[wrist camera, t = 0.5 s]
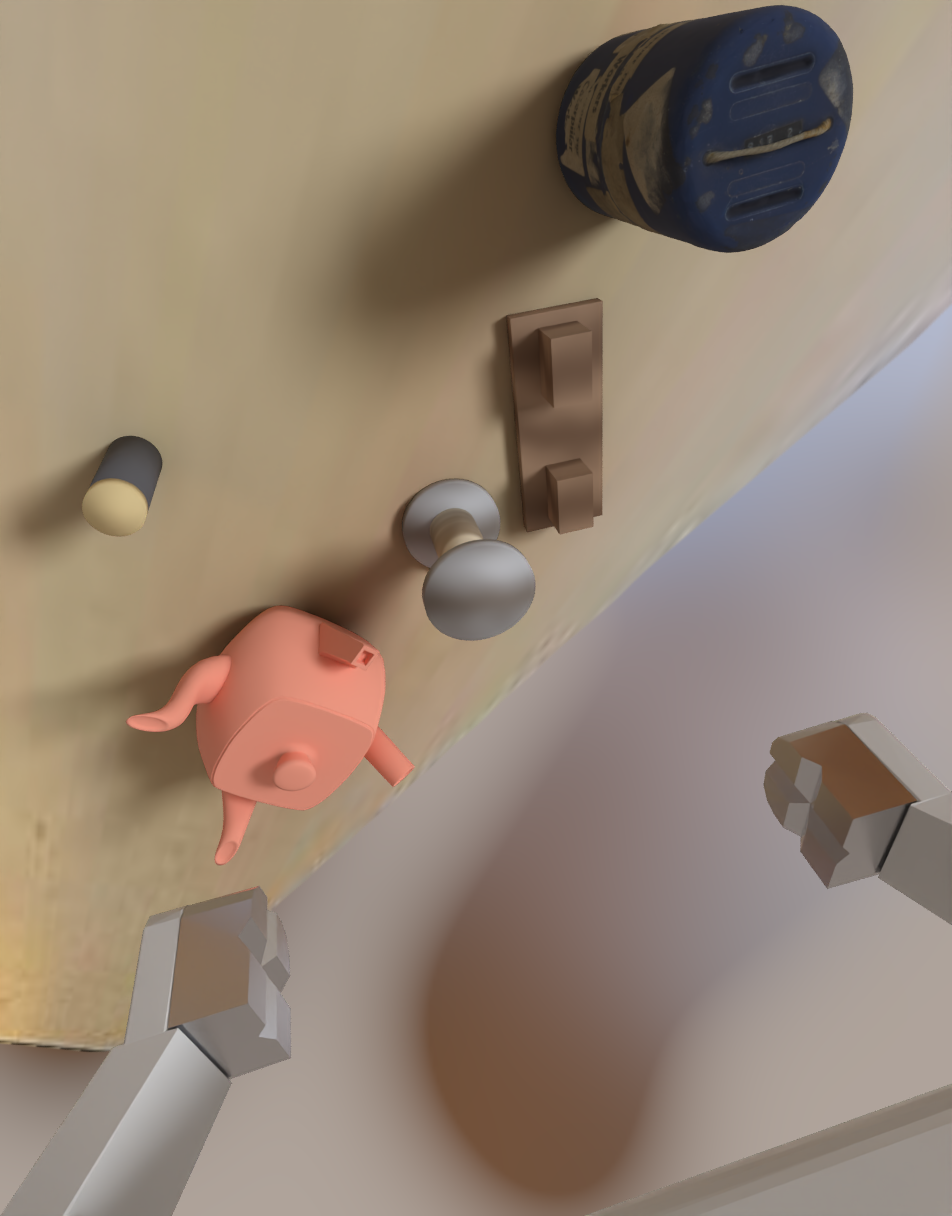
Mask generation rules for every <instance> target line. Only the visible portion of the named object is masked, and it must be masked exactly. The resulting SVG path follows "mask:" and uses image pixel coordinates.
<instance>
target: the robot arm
mask: <svg viewBox="0 0 952 1216" xmlns="http://www.w3.org/2000/svg"><path fill="white" fill-rule="evenodd" d="M770 754H771V755H772V757H773V758H774V759H775V761H774V763H773V764H772V765H771V766H770V767H769V768H768V769H767V770H766V773H765V779H764V789H765V793H766V797H767V801H768V803H769V805H770V807H771V809H772V811H773V813H774V815H775V816H776V818H777V819H778V821H779V822H780V824H781V825H782V826H783V827H784V828H785V829H787V830H789V831H791V832H793V833H795V834H797V835H799V836H800V837H801V843H800V844H801V845H800V847H801V848H800V852H801V853H802V854H803V856H804V857H805V859H806V860H807V861H808V863H809V864H810V866H811V867H812V868H813V870H814V871H815V872H816V874H817V875H818V877H819V878H820V879H821V881H822V882H823V883H824V885H825V886H826V888H827V889H829V888H832V887H836V886H839V885H843V884H846V883H850V882H853V881H857V880H860V879H864V878H867V877H871V876H874V875H878V874H879V876H878V878H880V879H881V880H882V881H884V882H886V883H887V884H889V885H890V886H892V887H893V888H895V889H896V890H898V891H900V892H901V893H903V894H904V895H906V896H907V897H909V898H911V899H912V900H914V901H915V902H917V903H918V904H920V905H922V906H923V907H925V908H926V909H928V910H929V911H931V912H932V913H934V914H936V915H937V916H939V917H940V918H942V919H943V920H945V921H946V922H948V923H949V924H951V925H952V791H950V790H949V789H948V788H947V787H946V786H945V785H944V784H943V783H942V782H941V781H940V780H939V779H938V778H937V777H936V776H935V775H934V774H933V773H932V772H931V771H930V770H929V769H928V768H927V767H925V765H924V764H923V763H922V762H921V761H920V760H919V759H918V758H917V757H916V756H914V755H913V754H912V753H911V752H910V751H909V750H908V749H907V748H906V747H905V746H904V745H903V744H902V743H901V742H900V741H899V740H898V739H897V738H896V737H895V736H894V735H893V734H892V733H891V732H890V731H889V730H888V729H887V728H886V727H885V726H884V725H883V724H882V723H881V722H880V721H879V720H878V719H877V718H876V717H874V716H872V715H870V714H868V713H860V714H856V715H853V716H849V717H846V718H843V719H840V720H836V721H830V722H827V723H823V724H820V725H817V726H814V727H810V728H807V729H804V730H801V731H797V732H794V733H791V734H787V735H784V736H781V737H778V738H777V739H776V740H774V741H773V743H772V746H771V750H770ZM289 977H290V960H289V950H288V944H287V937H286V933H285V930H284V927H283V924H282V921H281V920H280V918H279V916H278V915H277V913H275V912H272V911H268V910H267V896H266V895H265V894H264V892H263V891H262V889H261V888H260V886H257V887H254V888H250V889H247V890H243V891H239V892H236V893H232V894H229V895H225V896H221V897H218V898H214V899H211V900H207V901H203V902H200V903H196V904H192V905H187V906H183V907H180V908H176V909H173V910H170V911H166V912H163V913H159V914H156V915H152V916H150V917H149V919H148V921H147V923H146V925H145V928H144V930H143V934H142V940H141V945H140V951H139V957H138V963H137V969H136V975H135V981H134V987H133V993H132V999H131V1005H130V1011H129V1017H128V1022H127V1028H126V1034H125V1040H124V1044H121V1045H118V1046H115V1047H113V1048H112V1049H111V1051H110V1052H109V1054H108V1055H107V1057H106V1058H105V1060H104V1061H103V1063H102V1064H101V1066H100V1067H99V1069H98V1070H97V1072H96V1073H95V1075H94V1076H93V1078H92V1079H91V1081H90V1082H89V1084H88V1085H87V1087H86V1088H85V1090H84V1091H83V1093H82V1094H81V1096H80V1097H79V1099H78V1100H77V1102H76V1103H75V1105H74V1106H73V1108H72V1109H71V1111H70V1112H69V1114H68V1115H67V1117H66V1118H65V1120H64V1121H63V1123H62V1124H61V1126H60V1127H59V1129H58V1130H57V1132H56V1133H55V1135H54V1136H53V1138H52V1139H51V1141H50V1142H49V1144H48V1145H47V1147H46V1148H45V1150H44V1151H43V1153H42V1154H41V1156H40V1157H39V1159H38V1160H37V1162H36V1163H35V1165H34V1166H33V1168H32V1169H31V1171H30V1172H29V1174H28V1175H27V1177H26V1178H25V1180H24V1181H23V1183H22V1184H21V1186H20V1187H19V1189H18V1190H17V1192H16V1193H15V1195H14V1196H13V1198H12V1199H11V1201H10V1202H9V1204H8V1205H7V1207H6V1208H5V1210H4V1211H3V1213H2V1214H1V1216H172V1214H173V1212H174V1210H175V1208H176V1205H177V1203H178V1201H179V1199H180V1197H181V1194H182V1192H183V1190H184V1188H185V1185H186V1183H187V1181H188V1179H189V1177H190V1174H191V1172H192V1170H193V1168H194V1165H195V1163H196V1161H197V1159H198V1156H199V1154H200V1152H201V1150H202V1148H203V1145H204V1143H205V1141H206V1139H207V1137H208V1134H209V1132H210V1130H211V1128H212V1126H213V1123H214V1121H215V1119H216V1117H217V1114H218V1112H219V1110H220V1108H221V1106H222V1103H223V1101H224V1099H225V1097H226V1094H227V1092H228V1090H229V1088H230V1086H231V1081H230V1080H229V1079H232V1078H235V1077H237V1076H241V1075H243V1074H246V1073H249V1072H252V1071H255V1070H258V1069H260V1068H264V1067H266V1066H269V1065H272V1064H275V1063H278V1062H281V1061H284V1060H287V1059H290V1058H291V1016H290V1014H291V1012H290V1007H289V1005H288V1004H287V1002H286V1001H285V999H284V998H283V996H282V995H281V991H282V990H283V988H284V986H285V984H286V982H287V981H288V979H289ZM585 1216H952V1084H950V1085H947V1086H944V1087H941V1088H938V1089H936V1090H933V1091H930V1092H927V1093H925V1094H922V1095H919V1096H916V1097H913V1098H911V1099H908V1100H905V1101H902V1102H900V1103H897V1104H894V1105H891V1106H888V1107H886V1108H883V1109H880V1110H878V1111H875V1112H872V1113H869V1114H866V1115H863V1116H861V1117H858V1118H855V1119H852V1120H849V1121H847V1122H844V1123H841V1124H838V1125H836V1126H833V1127H830V1128H827V1129H825V1130H822V1131H819V1132H816V1133H813V1134H811V1135H808V1136H805V1137H802V1138H800V1139H797V1140H794V1141H791V1142H789V1143H786V1144H783V1145H780V1146H777V1147H774V1148H772V1149H769V1150H766V1151H763V1152H761V1153H758V1154H755V1155H752V1156H750V1157H747V1158H744V1159H741V1160H738V1161H736V1162H733V1163H730V1164H727V1165H724V1166H722V1167H719V1168H716V1169H713V1170H711V1171H708V1172H705V1173H702V1174H699V1175H697V1176H694V1177H691V1178H688V1179H686V1180H683V1181H680V1182H677V1183H675V1184H672V1185H669V1186H666V1187H663V1188H660V1189H658V1190H655V1191H652V1192H650V1193H647V1194H644V1195H641V1196H638V1197H635V1198H633V1199H630V1200H627V1201H624V1202H622V1203H619V1204H616V1205H613V1206H610V1207H608V1208H605V1209H602V1210H599V1211H596V1212H594V1213H591V1214H588V1215H585Z"/></svg>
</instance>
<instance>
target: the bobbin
mask: <svg viewBox="0 0 952 1216" xmlns="http://www.w3.org/2000/svg"><path fill="white" fill-rule="evenodd" d="M499 530H500V515H499V511H498V508H497V506H496V504H495V502H494V501H493V499H492V497H491V496H490V494H489V493H488V492H487V491H486V490H485V489H484V488H482V487H481V486H480V485H478V484H476V483H474V482H471V481H469V480H464V479H445V480H441V481H437V482H435V483H432V484H430V485H428V486H427V487H425V488H424V489H422V490H421V491H419V492H418V493H417V494H416V495H415V496H414V497H413V499H412V500H411V501H410V503H409V504H408V506H407V508H406V510H405V513H404V516H403V521H402V531H403V536H404V540H405V543H406V546H407V548H408V550H409V552H410V553H411V555H412V556H413V557H414V558H415V559H416V560H417V561H418V562H420V563H421V564H423V565H425V566H427V567H429V568H430V569H429V571H428V573H427V575H426V577H425V580H424V583H423V589H422V598H423V603H424V606H425V610H426V613H427V616H428V618H429V620H430V621H431V623H432V624H433V625H434V626H435V627H436V628H437V629H438V630H439V631H440V632H442V633H443V634H445V635H447V636H450V637H452V638H456V639H460V640H482V639H487V638H490V637H494V636H496V635H498V634H501V633H503V632H504V631H506V630H508V629H509V628H511V627H512V626H514V625H515V624H516V623H517V622H518V621H519V620H520V619H521V618H522V617H523V616H524V615H525V613H526V612H527V610H528V609H529V607H530V605H531V603H532V601H533V598H534V594H535V577H534V574H533V571H532V569H531V567H530V565H529V563H528V562H527V560H526V558H525V557H524V556H523V554H522V553H521V552H520V551H519V550H518V549H516V548H515V547H513V546H512V545H510V544H508V543H505V542H502V541H498V540H497V537H498V534H499Z"/></svg>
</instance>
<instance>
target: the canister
mask: <svg viewBox="0 0 952 1216" xmlns="http://www.w3.org/2000/svg"><path fill="white" fill-rule="evenodd" d="M852 103H853V83H852V76H851V71H850V65H849V62H848V58H847V55H846V52H845V50H844V48H843V45H842V43H841V41H840V39H839V37H838V36H837V34H836V33H835V32H834V31H833V30H832V29H831V28H830V26H829V25H828V24H827V23H825V22H824V21H823V20H822V19H821V18H819V17H818V16H816V15H815V14H813V13H811V12H809V11H807V10H804V9H801V8H797V7H792V6H785V5H775V6H766V7H760V8H755V9H750V10H744V11H739V12H733V13H728V14H723V15H718V16H713V17H708V18H701V19H695V20H688V21H682V22H676V23H672V24H660V25H657V26H655V27H652V28H649V29H644V30H639V31H635V32H631V33H627V34H623V35H620V36H618V37H615V38H613V39H611V40H609V41H608V42H606V43H604V44H603V45H601V46H600V47H598V48H597V49H596V50H595V51H594V52H592V53H591V54H590V55H589V56H588V57H587V58H586V59H585V61H584V62H583V63H582V64H581V66H580V67H579V68H578V70H577V71H576V73H575V74H574V76H573V77H572V79H571V81H570V83H569V85H568V88H567V90H566V92H565V94H564V97H563V100H562V103H561V107H560V111H559V116H558V121H557V131H556V145H557V154H558V160H559V164H560V167H561V171H562V174H563V176H564V178H565V181H566V183H567V184H568V186H569V188H570V189H571V191H572V192H573V194H574V195H575V196H576V197H577V198H578V199H579V200H580V201H581V202H582V203H583V204H584V205H585V206H587V207H588V208H590V209H591V210H593V211H595V212H597V213H600V214H603V215H605V216H609V217H612V218H615V219H618V220H620V221H623V222H627V223H630V224H632V225H635V226H639V227H641V228H643V229H645V230H647V231H650V232H654V233H658V234H661V235H664V236H667V237H670V238H674V239H677V240H680V241H684V242H687V243H690V244H692V245H695V246H697V247H700V248H704V249H708V250H712V251H718V252H726V253H731V252H741V251H746V250H750V249H754V248H757V247H759V246H762V245H764V244H766V243H768V242H770V241H772V240H774V239H775V238H777V237H779V236H780V235H782V234H783V233H785V232H786V231H788V230H789V229H790V228H791V227H792V226H793V225H794V224H795V223H796V222H797V221H799V220H800V219H801V218H802V217H803V216H804V215H805V214H806V213H807V212H808V211H809V210H810V209H811V207H812V206H813V205H814V203H815V202H816V201H817V200H818V198H819V197H820V195H821V194H822V193H823V191H824V189H825V188H826V186H827V185H828V183H829V181H830V179H831V177H832V175H833V173H834V171H835V169H836V167H837V164H838V162H839V159H840V157H841V154H842V152H843V149H844V146H845V142H846V139H847V135H848V131H849V127H850V121H851V115H852Z"/></svg>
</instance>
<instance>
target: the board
mask: <svg viewBox="0 0 952 1216" xmlns="http://www.w3.org/2000/svg"><path fill="white" fill-rule="evenodd" d="M602 318H603V301H601V300H600V299H598V298H596V299H590V300H585V301H580V302H575V303H569V304H564V305H559V306H554V307H548V308H543V309H538V310H533V311H527V312H522V313H517V314H512V315H507V327H508V339H509V351H510V363H511V375H512V387H513V399H514V412H515V424H516V436H517V448H518V460H519V472H520V484H521V496H522V508H523V520H524V527H525V529H526V531H527V532H530V531H535V530H539V529H543V528H548V527H552V526H554V527H555V528H556V530H557V531H558V533H559V534H564V533H568V532H572V531H577V530H581V529H585V528H590V527H593V517H595V516H600V515H602Z"/></svg>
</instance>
